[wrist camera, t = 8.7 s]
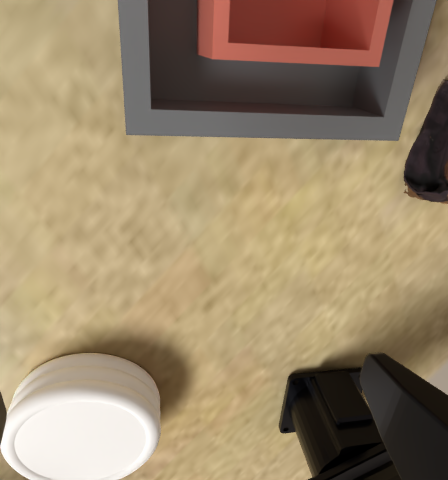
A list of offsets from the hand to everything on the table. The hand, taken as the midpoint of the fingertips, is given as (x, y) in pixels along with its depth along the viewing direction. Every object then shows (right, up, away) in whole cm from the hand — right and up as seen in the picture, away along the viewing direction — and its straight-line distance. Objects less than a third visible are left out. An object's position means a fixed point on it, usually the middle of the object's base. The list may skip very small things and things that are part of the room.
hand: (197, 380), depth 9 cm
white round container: (-9, -8, +18) cm, 22 cm away
